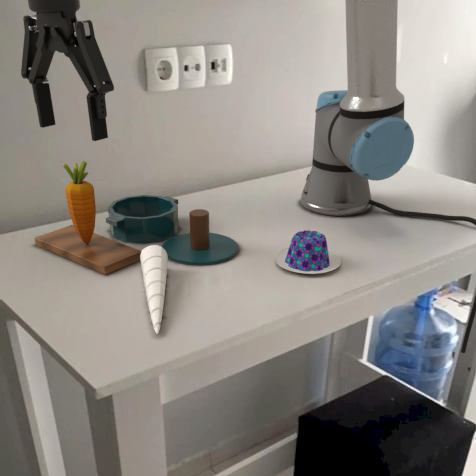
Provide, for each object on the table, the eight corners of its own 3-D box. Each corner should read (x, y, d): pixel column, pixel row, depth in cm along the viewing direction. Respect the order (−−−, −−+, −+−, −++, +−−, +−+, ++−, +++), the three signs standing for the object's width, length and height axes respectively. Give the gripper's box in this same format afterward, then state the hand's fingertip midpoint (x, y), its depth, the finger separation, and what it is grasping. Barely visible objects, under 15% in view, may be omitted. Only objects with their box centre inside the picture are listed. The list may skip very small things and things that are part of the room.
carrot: (67, 246, 116) (54, 162, 107) (85, 237, 120) (73, 155, 111) (89, 251, 114) (77, 166, 105) (106, 242, 118) (96, 159, 109)
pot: (197, 226, 129) (196, 202, 126) (137, 251, 118) (135, 226, 116) (151, 211, 136) (149, 188, 133) (91, 233, 125) (87, 209, 122)
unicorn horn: (131, 337, 93) (128, 308, 90) (141, 269, 112) (139, 243, 109) (164, 337, 93) (162, 307, 90) (168, 268, 112) (167, 243, 109)
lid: (252, 247, 120) (253, 211, 116) (203, 272, 111) (202, 233, 107) (197, 229, 127) (196, 194, 123) (146, 250, 119) (143, 213, 114)
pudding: (295, 282, 108) (297, 253, 105) (262, 256, 117) (263, 229, 114) (353, 270, 113) (357, 242, 109) (318, 246, 121) (320, 219, 118)
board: (143, 258, 116) (142, 251, 115) (105, 274, 110) (104, 266, 109) (73, 231, 126) (72, 224, 125) (35, 245, 120) (34, 237, 119)
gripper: (-20, -23, 97) (9, 124, 109) (86, -16, 84) (105, 150, 97) (21, -25, 101) (45, 117, 114) (127, -19, 89) (141, 140, 101)
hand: (73, 132), depth 105 cm, fingers open, 13 cm apart
